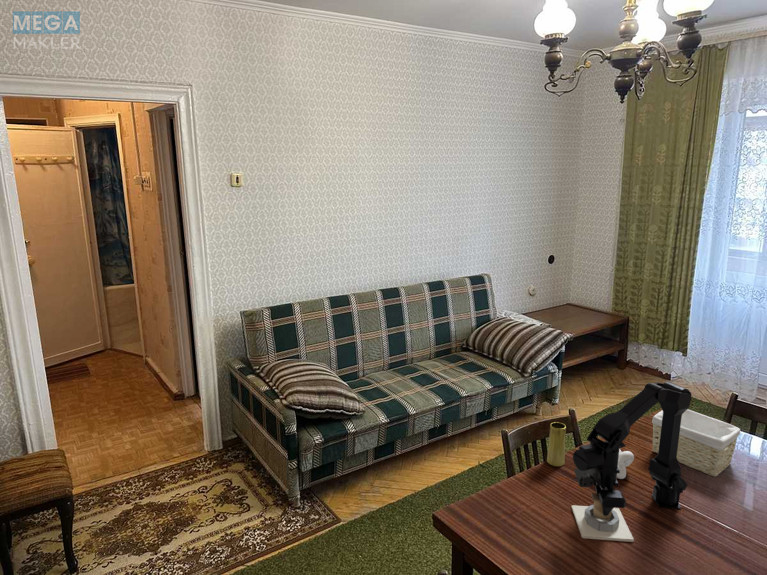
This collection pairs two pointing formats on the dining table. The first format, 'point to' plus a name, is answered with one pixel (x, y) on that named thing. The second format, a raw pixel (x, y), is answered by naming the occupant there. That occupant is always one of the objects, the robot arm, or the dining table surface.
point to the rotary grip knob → (599, 508)
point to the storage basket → (701, 441)
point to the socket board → (601, 525)
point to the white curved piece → (624, 463)
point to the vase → (556, 444)
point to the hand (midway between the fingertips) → (602, 509)
